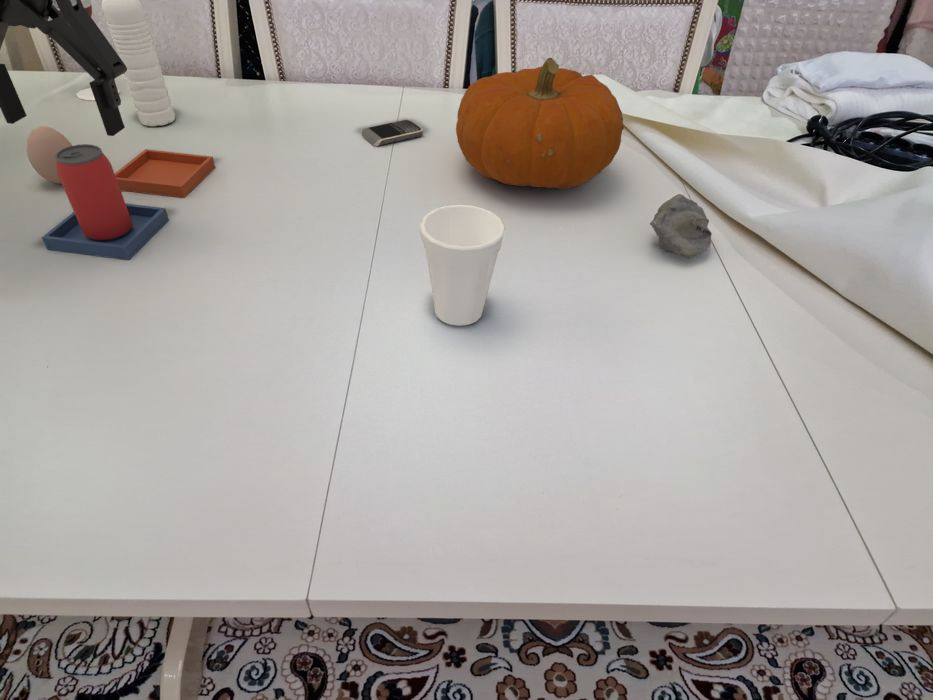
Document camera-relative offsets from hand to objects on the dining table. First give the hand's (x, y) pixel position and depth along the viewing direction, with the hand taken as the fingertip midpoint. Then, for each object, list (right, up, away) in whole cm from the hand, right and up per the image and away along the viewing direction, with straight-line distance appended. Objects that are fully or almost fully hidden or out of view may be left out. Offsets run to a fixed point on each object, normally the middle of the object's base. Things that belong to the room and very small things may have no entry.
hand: (66, 125), depth 80 cm
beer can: (0, -12, +10) cm, 16 cm away
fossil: (+84, -14, +15) cm, 86 cm away
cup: (+51, -24, +1) cm, 56 cm away
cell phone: (+37, +13, +41) cm, 57 cm away
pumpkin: (+64, +2, +31) cm, 71 cm away
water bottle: (-8, +16, +41) cm, 45 cm away
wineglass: (-26, +25, +50) cm, 62 cm away
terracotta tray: (+1, 0, +24) cm, 24 cm away
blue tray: (0, -12, +11) cm, 16 cm away
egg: (-14, -2, +22) cm, 26 cm away
